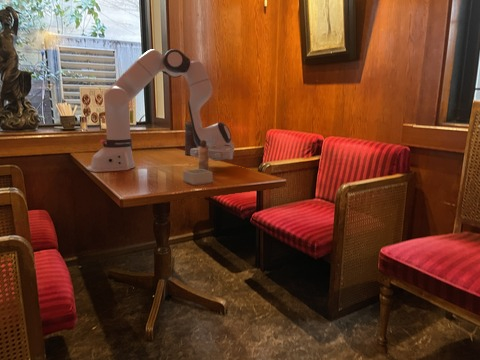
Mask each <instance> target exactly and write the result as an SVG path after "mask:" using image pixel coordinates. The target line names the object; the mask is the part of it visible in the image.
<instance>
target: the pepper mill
mask: <svg viewBox="0 0 480 360" xmlns="http://www.w3.org/2000/svg"><path fill="white" fill-rule="evenodd" d="M200 144H201V146H199V147H198V148H199V157H198V169H204V170H208V171H209V158H208V146H206V144H207V143H206V141H205V140H202V141H201V142H200Z"/></svg>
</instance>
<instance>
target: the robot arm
mask: <svg viewBox="0 0 480 360" xmlns="http://www.w3.org/2000/svg"><path fill="white" fill-rule="evenodd" d="M161 72H162V73H163V74H165V75H167V76H169V77H171V78H180V77H184V78H185V80H186V83H187V85H188V88H189V94H190V96H189V99H188V102H187V103H188V112H189V117H190V122H192V127H193V135H194V142H195V144H196V145H197V148H192V149H191V150H190V155H189V156H191V157H195V158H199V146H201V144H200V142H201V141H202V140H205V141H206V143H207V144H206V146H208V159H210V160H212V161H215V162H217V161H218V162H219V161H223V160H224V161H226V160H233V159H234V151H235V144H234V142H233V141H232V134H231V131H230V129H229V128H230V127H228V125H226V124H225V123H223V122H221V121H218V122H217V123H213V124H211V125H209V126H206V127H203V123H202V120H201V119H202V118H201V113H200V111H201V108H202V106H204V104H205V103H207V101H209V99H210V98H211V96H212V94H213V91H214V90H213V85H212V82H211V79H210V76H209V74H208V72H207V70H206V68H205V66H204V65H203V63H202V62H201V61H200V60H191V59H190V58H189V57H187V55H186V54H184V53H183V52H182V51H180V50H179V49H174V48H173V49H169V50H168V51H166V53H165V54H162V53H161V52H160V51H159V50H156V49H154V48H153V49H149V50H147V51H146V52H144V53H143V54H141V55H140V56H139V57H138V58H137V59H136V60H135V61H134V62H133V63H132V65H130V67H128V69H126V70H125V71H124V72H123V74H122V75H120V77H119V78H118V79H117V80H116V81H115V82H114V83H113V84H112V85H111V86H110V87H109V88H108V89H106V91H105V92H104V95H103V102H104V114H105V129H106V139H101V140H100V141H99V144H101V145H102V148H101V149H99V150H98V151H97V152H96V153H95V154H93V155H92V158H91V164H89V165H88V166H87V167H86V169H87V171H89V172H94V173H99V172H114V171H128V170H130V169H133V168H136V165H135V160H134V156H133V152H132V149H133V141H132V138H131V121H130V120H131V118H130V117H131V116H130V102H131V101H132V100H133V99H134V98H135V97H136V96H138V94H139V93H141V91H142V90H143V89H145V87H146V86H148V84H149V83H150V82H152V80H154V78H155V77H156V76H157V75H159V73H161Z"/></svg>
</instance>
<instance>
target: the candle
mask: <svg viewBox="0 0 480 360" xmlns="http://www.w3.org/2000/svg"><path fill="white" fill-rule="evenodd" d="M184 130H185V131H184V135H185V136H184V138H185V139H184V154H185V155H186V156H187V155H189V156H191V155H190V150H191V149H192V148H198V146H197V145H196V144H195V142H194V135H193V127H192V122H191V121H185V123H184Z"/></svg>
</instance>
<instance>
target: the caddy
mask: <svg viewBox="0 0 480 360" xmlns="http://www.w3.org/2000/svg"><path fill="white" fill-rule="evenodd" d="M213 175H214V174H213V171H210V170H209V169H208V170H204V169H199V168H195V169H187V170H182V182H184V183H187V184H189V185H191V186H197V185H198V186H199V185H207V184H213V181H214V179H213Z"/></svg>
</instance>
